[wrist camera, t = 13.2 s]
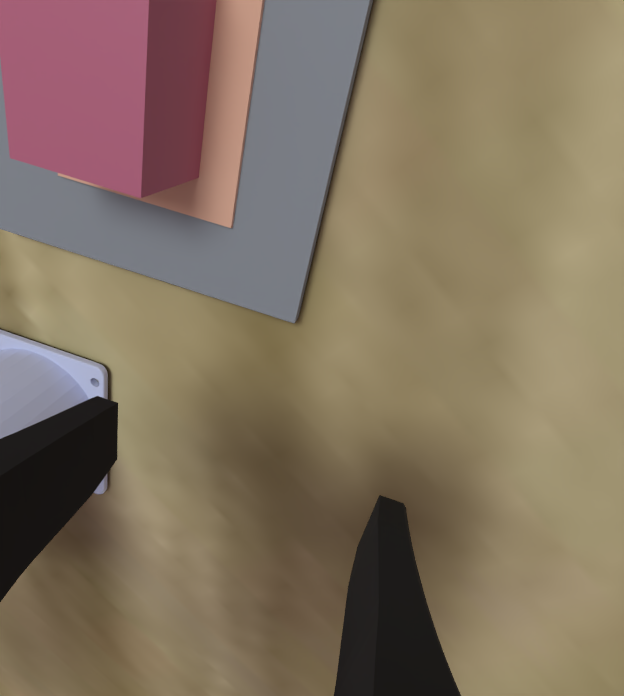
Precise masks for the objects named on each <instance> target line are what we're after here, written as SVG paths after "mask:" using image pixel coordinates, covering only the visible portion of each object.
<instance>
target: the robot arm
mask: <svg viewBox="0 0 624 696" xmlns="http://www.w3.org/2000/svg"><path fill="white" fill-rule="evenodd" d="M96 379H97V380H98V381H99V382H98V381H97V380H96ZM117 429H118V403H116V402H113V401H111V400H108V373H107V370H106V368H105V367H104V366H103V365H101V364H99V363H96V362H93V361H90V360H88V359H85V358H82V357H79V356H76V355H73V354H70V353H67V352H64V351H61V350H58V349H56V348H53V347H50V346H47V345H44V344H41V343H38V342H35V341H32V340H29V339H27V338H24V337H21V336H18V335H15V334H12V333H9V332H6V331H3V330H0V602H1V600H2V599H3V598H4V596H5V595H6V594H7V592H8V591H9V590H10V588H11V587H12V586H13V584H14V583H15V582H16V580H17V579H18V578H19V576H20V575H21V574H22V573H23V572H24V570H25V569H26V568H27V567H28V566H29V564H30V563H31V562H32V561H33V560H34V559H35V557H36V556H37V555H38V554H39V553H40V552H41V551H42V550H43V549H44V547H45V546H46V545H47V544H48V543H49V542H50V541H51V540H52V539H53V537H54V536H55V535H56V534H57V533H58V532H59V531H60V530H61V529H62V527H63V526H64V525H65V524H66V523H67V522H68V521H69V520H70V519H71V517H72V516H73V515H74V514H75V513H76V512H77V511H78V510H79V508H80V507H81V506H82V505H83V504H84V503H85V502H86V501H87V499H88V498H89V497H90V496H91V495H92V494H93V493H96V494H103V493H104V492H105V491H106V490H107V473H108V471H109V470H110V468H111V467H112V465H113V464H114V463H115V461H116V460H117ZM334 696H461V695H460V692H459V690H458V688H457V685H456V683H455V681H454V678H453V676H452V673H451V671H450V668H449V666H448V663H447V661H446V658H445V655H444V653H443V650H442V647H441V644H440V642H439V639H438V636H437V633H436V630H435V627H434V624H433V621H432V618H431V615H430V612H429V608H428V605H427V602H426V598H425V595H424V591H423V588H422V584H421V580H420V576H419V573H418V569H417V565H416V561H415V556H414V552H413V547H412V542H411V537H410V532H409V526H408V520H407V513H406V507H405V506H404V504H403V503H400V502H398V501H395V500H392V499H389V498H386V497H383V496H381V495H380V496H379V498H378V500H377V503H376V505H375V507H374V510H373V512H372V514H371V517H370V519H369V521H368V524H367V526H366V528H365V531H364V533H363V535H362V538H361V540H360V542H359V545H358V547H357V551H356V556H355V560H354V564H353V568H352V573H351V577H350V581H349V586H348V593H347V601H346V608H345V616H344V624H343V632H342V640H341V648H340V656H339V664H338V672H337V680H336V686H335V692H334Z"/></svg>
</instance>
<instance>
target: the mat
mask: <svg viewBox="0 0 624 696" xmlns="http://www.w3.org/2000/svg"><path fill="white" fill-rule="evenodd" d="M372 3H373V0H217V2H216V12H215V21H214V31H213V41H212V51H211V61H210V71H209V81H208V91H207V101H206V111H205V121H204V131H203V141H202V151H201V161H200V171H199V178H197V179H194V180H191V181H188V182H186V183H183V184H180V185H177V186H174V187H171V188H169V189H166V190H163V191H160V192H157V193H155V194H152V195H149V196H146V197H143V198H138V197H135V196H132V195H128V194H125V193H122V192H119V191H115V190H112V189H109V188H106V187H102V186H99V185H96V184H93V183H89V182H86V181H83V180H80V179H76V178H73V177H70V176H67V175H63V174H60V173H57V172H54V171H50V170H47V169H44V168H41V167H37V166H34V165H31V164H28V163H24V162H21V161H18V160H15V159H11V158H10V155H9V144H8V134H7V123H6V113H5V102H4V92H3V81H2V71H1V60H0V229H2V230H5V231H8V232H12V233H15V234H18V235H21V236H24V237H27V238H30V239H33V240H36V241H40V242H43V243H46V244H49V245H52V246H55V247H58V248H61V249H64V250H68V251H71V252H74V253H77V254H80V255H83V256H86V257H89V258H92V259H96V260H99V261H102V262H105V263H108V264H111V265H114V266H117V267H120V268H124V269H127V270H130V271H133V272H136V273H139V274H142V275H145V276H148V277H152V278H155V279H158V280H161V281H164V282H167V283H170V284H173V285H176V286H180V287H183V288H186V289H189V290H192V291H195V292H198V293H201V294H204V295H208V296H211V297H214V298H217V299H220V300H223V301H226V302H229V303H232V304H236V305H239V306H242V307H245V308H248V309H251V310H254V311H257V312H260V313H264V314H267V315H270V316H273V317H276V318H279V319H282V320H285V321H288V322H292V323H295V322H296V320H297V319H298V317H299V312H300V308H301V304H302V300H303V295H304V291H305V287H306V283H307V278H308V274H309V270H310V266H311V261H312V257H313V253H314V249H315V244H316V240H317V236H318V232H319V228H320V223H321V219H322V215H323V211H324V206H325V202H326V198H327V194H328V189H329V185H330V181H331V177H332V172H333V168H334V164H335V160H336V155H337V151H338V147H339V143H340V138H341V134H342V130H343V126H344V122H345V117H346V113H347V109H348V105H349V100H350V96H351V92H352V88H353V83H354V79H355V75H356V71H357V66H358V62H359V58H360V54H361V49H362V45H363V41H364V37H365V32H366V28H367V24H368V20H369V15H370V11H371V7H372Z"/></svg>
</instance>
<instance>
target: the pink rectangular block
mask: <svg viewBox="0 0 624 696" xmlns="http://www.w3.org/2000/svg"><path fill="white" fill-rule="evenodd" d="M216 2H217V0H0V60H1V71H2V81H3V92H4V102H5V113H6V123H7V134H8V144H9V155H10V158H11V159H15V160H18V161H21V162H24V163H28V164H31V165H34V166H37V167H41V168H44V169H47V170H50V171H54V172H57V173H60V174H63V175H67V176H70V177H73V178H76V179H80V180H83V181H86V182H89V183H93V184H96V185H99V186H102V187H106V188H109V189H112V190H115V191H119V192H122V193H125V194H128V195H132V196H135V197H138V198H143V197H146V196H149V195H152V194H155V193H157V192H160V191H163V190H166V189H169V188H171V187H174V186H177V185H180V184H183V183H186V182H188V181H191V180H194V179H197V178H199V171H200V161H201V151H202V141H203V131H204V121H205V111H206V101H207V91H208V81H209V71H210V61H211V51H212V41H213V31H214V21H215V12H216Z"/></svg>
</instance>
